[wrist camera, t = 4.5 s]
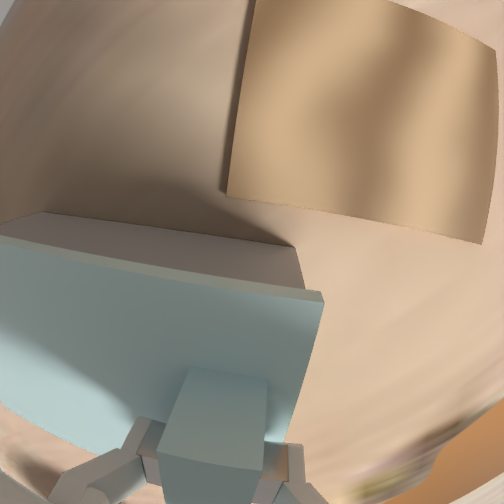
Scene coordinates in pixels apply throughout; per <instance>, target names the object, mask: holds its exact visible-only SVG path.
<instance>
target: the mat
mask: <svg viewBox="0 0 504 504" xmlns="http://www.w3.org/2000/svg"><path fill="white" fill-rule="evenodd" d="M498 117H499V100H498V75H497V62H496V52H495V50H494V49H492V48H490V47H489V46H487V45H485V44H484V43H482V42H480V41H478V40H477V39H475V38H473V37H471V36H469V35H467V34H466V33H464V32H462V31H460V30H458V29H456V28H454V27H452V26H450V25H448V24H446V23H443V22H441V21H439V20H437V19H435V18H432V17H430V16H428V15H425V14H423V13H420V12H418V11H415V10H413V9H410V8H408V7H405V6H402V5H399V4H396V3H394V2H391V1H388V0H256V4H255V9H254V14H253V20H252V26H251V31H250V37H249V43H248V49H247V55H246V61H245V67H244V73H243V79H242V86H241V92H240V99H239V105H238V112H237V119H236V126H235V133H234V140H233V147H232V154H231V162H230V169H229V177H228V185H227V193H226V197H231V198H238V199H246V200H253V201H260V202H267V203H273V204H280V205H286V206H293V207H299V208H305V209H311V210H317V211H323V212H329V213H334V214H340V215H346V216H351V217H356V218H362V219H367V220H372V221H377V222H382V223H387V224H392V225H397V226H402V227H407V228H411V229H416V230H421V231H425V232H430V233H434V234H439V235H443V236H447V237H452V238H456V239H460V240H464V241H468V242H472V243H476V244H480V245H482V241H483V237H484V233H485V228H486V223H487V218H488V213H489V208H490V202H491V196H492V190H493V182H494V175H495V166H496V155H497V142H498Z"/></svg>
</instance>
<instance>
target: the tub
mask: <svg viewBox="0 0 504 504" xmlns="http://www.w3.org/2000/svg"><path fill="white" fill-rule="evenodd" d="M0 235H2V236H7V237H11V238H16V239H21V240H25V241H30V242H35V243H39V244H44V245H49V246H54V247H59V248H64V249H69V250H74V251H79V252H84V253H89V254H94V255H99V256H104V257H110V258H115V259H121V260H126V261H131V262H137V263H142V264H148V265H154V266H159V267H165V268H171V269H177V270H183V271H189V272H195V273H201V274H207V275H213V276H219V277H225V278H232V279H238V280H245V281H251V282H258V283H265V284H271V285H278V286H285V287H292V288H299V289H305V284H304V280H303V276H302V272H301V268H300V264H299V261H298V257H297V253H296V249H295V248H294V247H288V246H281V245H275V244H268V243H261V242H255V241H248V240H241V239H234V238H227V237H221V236H214V235H207V234H200V233H193V232H186V231H179V230H172V229H165V228H158V227H151V226H143V225H136V224H129V223H122V222H114V221H107V220H100V219H92V218H85V217H77V216H69V215H62V214H54V213H46V212H40V213H36V214H33V215H29V216H26V217H22V218H19V219H15V220H12V221H9V222H5V223H2V224H0Z"/></svg>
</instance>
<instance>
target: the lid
mask: <svg viewBox="0 0 504 504" xmlns="http://www.w3.org/2000/svg"><path fill="white" fill-rule="evenodd" d="M323 307H324V300H323V297H322V294H321V291H314V290H306V289H299V288H292V287H285V286H278V285H271V284H265V283H258V282H251V281H245V280H238V279H232V278H225V277H219V276H213V275H207V274H201V273H195V272H189V271H183V270H177V269H171V268H165V267H159V266H154V265H148V264H142V263H137V262H131V261H126V260H121V259H115V258H110V257H104V256H99V255H94V254H89V253H84V252H79V251H74V250H69V249H64V248H59V247H54V246H49V245H44V244H39V243H35V242H30V241H25V240H21V239H16V238H11V237H7V236H2V235H0V401H1V403H2V405H3V406H5V407H6V408H8V409H9V410H11V411H12V412H14V413H16V414H17V415H19V416H20V417H22V418H24V419H26V420H27V421H29V422H31V423H32V424H34V425H36V426H38V427H40V428H41V429H43V430H45V431H47V432H49V433H51V434H53V435H55V436H57V437H59V438H61V439H63V440H65V441H67V442H69V443H71V444H73V445H76V446H78V447H80V448H82V449H85V450H87V451H89V452H92V453H94V454H97V455H99V456H100V455H102V454H105V453H107V452H109V451H111V450H113V449H115V448H119V449H121V447H122V445H123V443H124V441H125V439H126V437H127V435H128V433H129V431H130V429H131V427H132V425H133V423H134V421H135V420H136V418H137V417H138V416H142V417H146V418H149V419H153V420H156V421H159V422H163V423H166V424H167V425H166V427H165V430H164V432H163V435H162V437H161V440H160V442H159V445H158V447H157V450H156V454H157V460H158V466H159V472H160V478H161V483H162V488H163V493H164V498H165V503H166V504H251V502H252V499H253V496H254V493H255V491H256V488H257V485H258V482H259V479H260V477H261V474H262V470H263V455H264V441H270V442H283V441H284V438H285V435H286V432H287V429H288V426H289V424H290V421H291V418H292V415H293V412H294V409H295V405H296V402H297V399H298V396H299V393H300V390H301V387H302V383H303V380H304V377H305V373H306V370H307V367H308V363H309V360H310V356H311V353H312V349H313V346H314V342H315V338H316V335H317V331H318V327H319V323H320V319H321V315H322V311H323Z"/></svg>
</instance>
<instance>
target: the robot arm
mask: <svg viewBox="0 0 504 504" xmlns="http://www.w3.org/2000/svg"><path fill="white" fill-rule="evenodd" d="M166 425H167V424H166V423H163V422H159V421H156V420H153V419H149V418H146V417H142V416H138V417H137V418H136V420H135V421H134V423H133V425H132V427H131V429H130V431H129V433H128V435H127V437H126V439H125V441H124V443H123V445H122V447H121V449H119V448H115V449H113V450H111V451H109V452H107V453H105V454H102V455H100V456H98V457H96V458H94V459H92V460H90V461H88V462H85V463H83V464H81V465H79V466H77V467H74V468H72V469H70V470H67V471H65V472H63V473H62V475H61V476H60V478H59V480H58V481H57V483H56V485H55V486H54V488H53V490H52V491H51V493H50V495H49V496H48V498H47V500H46V499H44V498H43V497H41V496H39V495H38V494H36V493H34V492H33V491H31V490H30V489H28V488H27V487H25V486H23V485H22V484H20V483H19V482H17V481H16V480H15V479H13V478H12V477H10V476H9V475H7V474H6V473H5V472H3V471H2V470H1V469H0V504H118V503H120V502H121V501H123V500H124V499H126V498H127V497H129V496H130V495H132V494H133V493H135V492H136V491H138V490H139V489H140V488H142V487H143V486H145V485H146V484H147V483H151V484H155V485H159V486H162V483H161V478H160V472H159V466H158V460H157V454H156V450H157V447H158V445H159V442H160V440H161V437H162V435H163V432H164V430H165V427H166ZM251 503H256V504H329V503H328V502H327V501H326V500H325V499H324V498H323V497H322V496H321V495H320V493H319V492H318V491H317V490H316V489H315V488H314V487H313V486H312V484H311V483H306V479H305V463H304V448H303V445H302V444H292V443H283V442H270V441H264V455H263V470H262V474H261V477H260V479H259V482H258V485H257V488H256V491H255V493H254V496H253V499H252V502H251Z"/></svg>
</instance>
